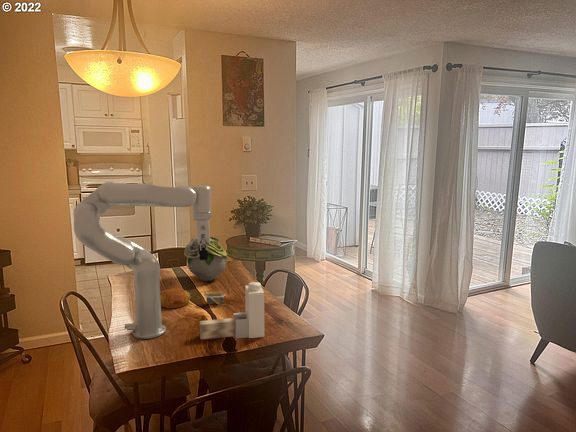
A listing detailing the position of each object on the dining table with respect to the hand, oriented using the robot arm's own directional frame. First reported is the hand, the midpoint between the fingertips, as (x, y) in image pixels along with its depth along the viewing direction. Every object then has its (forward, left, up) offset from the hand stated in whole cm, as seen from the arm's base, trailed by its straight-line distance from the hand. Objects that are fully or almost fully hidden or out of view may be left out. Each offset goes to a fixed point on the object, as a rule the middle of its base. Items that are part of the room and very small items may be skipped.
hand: (203, 256), depth 173 cm
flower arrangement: (+4, +60, -28) cm, 67 cm away
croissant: (-13, +25, -29) cm, 40 cm away
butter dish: (+5, +20, -29) cm, 35 cm away
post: (+17, -15, -28) cm, 36 cm away
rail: (+7, -15, -28) cm, 33 cm away
